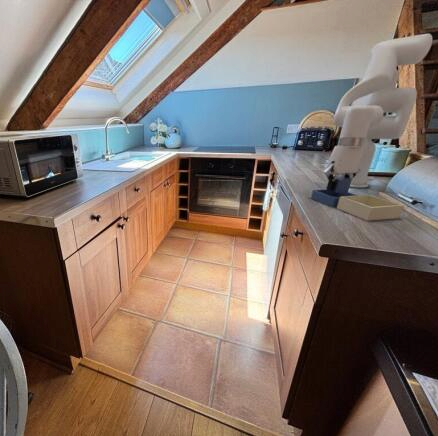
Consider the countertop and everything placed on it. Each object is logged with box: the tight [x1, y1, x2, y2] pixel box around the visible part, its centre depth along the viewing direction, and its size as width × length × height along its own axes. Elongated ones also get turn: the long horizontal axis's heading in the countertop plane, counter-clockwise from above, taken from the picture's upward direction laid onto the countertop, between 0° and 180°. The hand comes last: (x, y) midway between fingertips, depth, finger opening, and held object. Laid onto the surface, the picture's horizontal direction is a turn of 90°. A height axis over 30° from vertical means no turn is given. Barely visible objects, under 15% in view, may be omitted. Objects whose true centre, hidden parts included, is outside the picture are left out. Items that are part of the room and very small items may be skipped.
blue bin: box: [310, 188, 359, 208], centre depth 98 cm, size 11×11×4 cm
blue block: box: [325, 177, 352, 193], centre depth 96 cm, size 5×5×5 cm
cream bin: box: [336, 194, 405, 221], centre depth 86 cm, size 12×12×5 cm
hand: (337, 189), depth 97 cm, fingers closed on blue block, 5 cm apart
